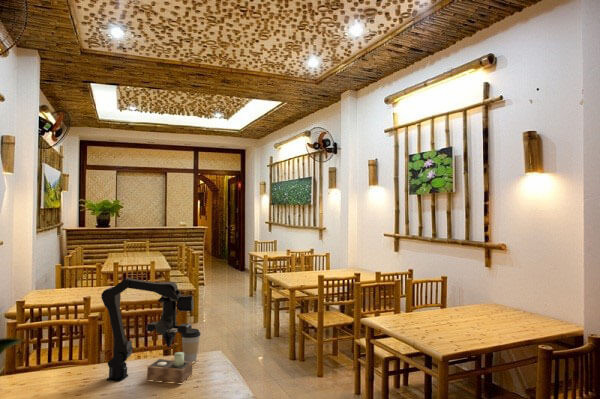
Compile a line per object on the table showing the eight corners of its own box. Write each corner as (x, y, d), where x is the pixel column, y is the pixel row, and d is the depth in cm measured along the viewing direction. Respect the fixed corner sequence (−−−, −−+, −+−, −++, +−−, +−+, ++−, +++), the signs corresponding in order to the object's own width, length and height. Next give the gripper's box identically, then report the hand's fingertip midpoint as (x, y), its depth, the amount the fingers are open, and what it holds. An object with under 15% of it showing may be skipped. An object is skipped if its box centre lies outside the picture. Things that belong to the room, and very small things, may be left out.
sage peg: (172, 367, 177) (172, 354, 177) (176, 364, 181) (177, 351, 181) (181, 368, 177) (181, 355, 177) (185, 365, 181) (185, 352, 181)
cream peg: (155, 377, 179) (155, 364, 179) (159, 374, 182) (160, 361, 183) (163, 378, 178) (163, 365, 178) (168, 374, 182) (168, 362, 182)
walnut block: (147, 381, 176) (147, 366, 176) (158, 372, 186) (159, 358, 186) (181, 384, 173) (182, 369, 173) (192, 375, 183) (192, 361, 183)
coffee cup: (203, 361, 201) (204, 330, 201) (189, 367, 193) (190, 334, 193) (190, 357, 206) (191, 326, 206) (175, 362, 198) (176, 331, 198)
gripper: (139, 314, 174) (139, 351, 174) (180, 316, 171) (180, 354, 171) (153, 308, 185) (152, 343, 185) (192, 310, 182) (191, 345, 182)
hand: (168, 346), depth 180 cm, fingers closed
